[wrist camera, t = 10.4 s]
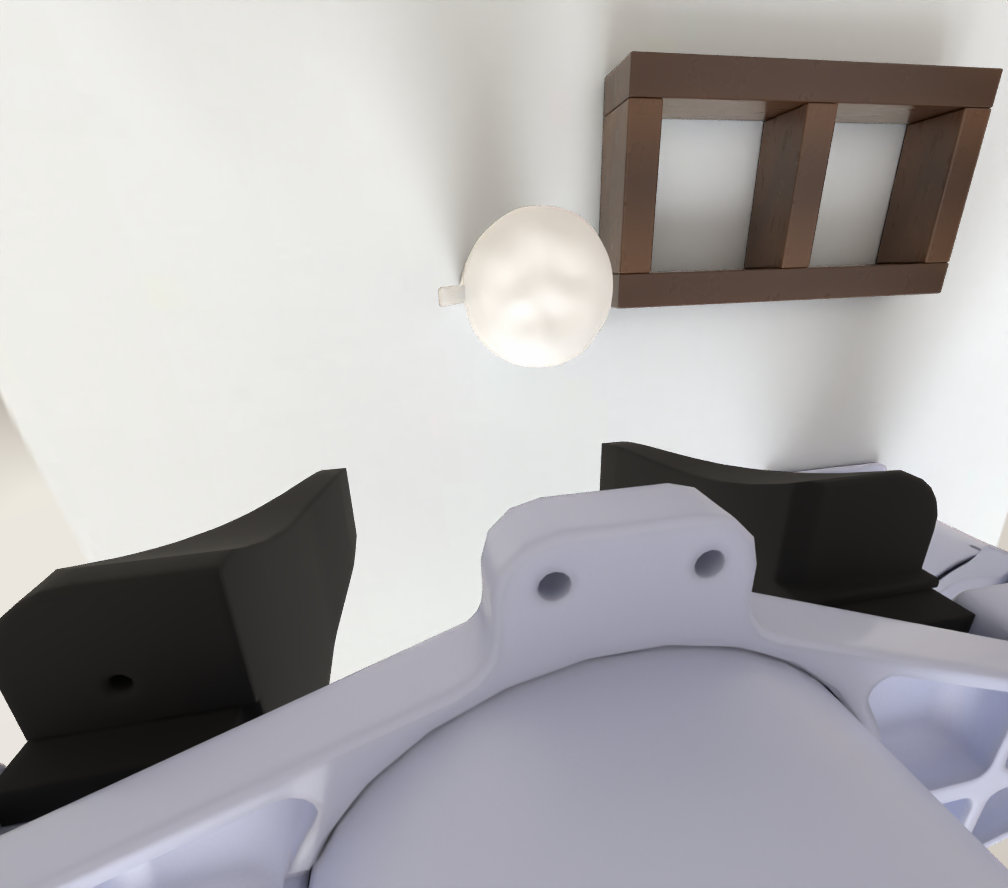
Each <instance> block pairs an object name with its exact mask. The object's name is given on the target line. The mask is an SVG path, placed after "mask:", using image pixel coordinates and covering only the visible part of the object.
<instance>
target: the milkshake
mask: <svg viewBox="0 0 1008 888" xmlns="http://www.w3.org/2000/svg"><path fill="white" fill-rule="evenodd" d="M438 292H439V305H440V307H444V306H449V305H454V304H458V303H463V302H464V304H465V309H466V313H467V316H468V319H469V322H470V324H471V326H472V328H473V330H474V332H475V334H476V335H477V337H478V338H479V339H480V341H481V342H482V343H483V344H484V345H485V346H486V347H487V348H488V349H489V350H490V351H492V352H493V353H494V354H495V355H497V356H498V357H500V358H502V359H503V360H505V361H507V362H510V363H512V364H515V365H519V366H524V367H551V366H556V365H559V364H563V363H565V362H568V361H570V360H572V359H574V358H575V357H577V356H579V355H580V354H581V353H582V352H584V351H585V350H586V349H587V347H588V346H589V345H590V344H591V342H592V341H593V340H594V338H595V337H596V335H597V334H598V332H599V331H600V329H601V328H602V326H603V325H604V323H605V321H606V319H607V317H608V315H609V312H610V308H611V302H612V293H613V275H612V268H611V263H610V260H609V256H608V254H607V251H606V249H605V247H604V245H603V243H602V241H601V240H600V238H599V236H598V234H597V233H596V231H595V230H594V229H593V228H592V226H591V225H590V224H589V223H588V222H587V221H586V220H584V219H583V218H582V217H580V216H579V215H577V214H575V213H574V212H571V211H569V210H566V209H563V208H559V207H553V206H526V207H521V208H518V209H515V210H513V211H511V212H509V213H507V214H506V215H504V216H503V217H501V218H500V219H498V220H497V221H496V222H495V223H493V224H492V225H491V226H490V227H489V228H488V229H487V230H486V231H485V232H484V233H483V234H482V235H481V236H480V238H479V239H478V240H477V242H476V243H475V245H474V247H473V249H472V251H471V253H470V255H469V258H468V259H467V260H466V262H465V265H464V269H463V273H462V277H461V281H460V284H459V285H457V286H448V287H440V288H439V290H438Z"/></svg>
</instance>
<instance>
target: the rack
mask: <svg viewBox="0 0 1008 888" xmlns="http://www.w3.org/2000/svg"><path fill="white" fill-rule="evenodd" d="M1002 71H1003V69H1000V68H978V67H957V66H936V65H914V64H893V63H872V62H850V61H829V60H808V59H786V58H765V57H744V56H722V55H701V54H680V53H658V52H637V51H632V52H631V53H630V54H629V55H628V56H627V57H626V58H625V59H624V60H623V61H622V62H621V63H620V64H619V65H618V66H617V67H616V68H615V69H614V70H613V71H612V72H611V73H610V74H609V75H608V76H607V77H606V78H605V93H604V117H605V118H604V123H603V150H602V177H601V204H600V231H599V238H600V240H601V241H602V243H603V245H604V247H605V249H606V251H607V254H608V256H609V260H610V263H611V268H612V275H613V293H612V302H611V307H614V308H640V307H661V306H682V305H704V304H725V303H746V302H767V301H788V300H809V299H831V298H852V297H873V296H894V295H915V294H937V293H940V292H941V289H942V286H943V282H944V279H945V275H946V271H947V268H948V263H946V262H949V260H950V257H951V253H952V249H953V246H954V242H955V239H956V235H957V231H958V228H959V224H960V221H961V217H962V213H963V210H964V206H965V203H966V199H967V195H968V192H969V188H970V185H971V181H972V177H973V174H974V170H975V167H976V163H977V159H978V156H979V152H980V149H981V145H982V141H983V138H984V134H985V131H986V127H987V123H988V120H989V116H990V113H991V109H990V108H991V107H992V106H993V103H994V100H995V96H996V92H997V89H998V85H999V82H1000V78H1001V74H1002ZM662 119H703V120H747V121H765V122H764V128H763V135H762V142H761V149H760V157H759V164H758V171H757V178H756V186H755V193H754V200H753V207H752V215H751V222H750V229H749V236H748V244H747V251H746V258H745V265H744V268H745V269H722V270H693V271H663V272H650V271H651V259H652V246H653V232H654V218H655V205H656V191H657V178H658V164H659V150H660V137H661V123H662ZM835 122H836V123H881V124H909V125H908V126H907V130H906V134H905V139H904V143H903V147H902V152H901V156H900V160H899V165H898V169H897V174H896V178H895V182H894V187H893V191H892V196H891V200H890V204H889V209H888V213H887V217H886V222H885V226H884V231H883V235H882V239H881V244H880V248H879V253H878V257H877V261H876V263H877V264H868V265H839V266H809V262H810V257H811V251H812V246H813V240H814V235H815V229H816V224H817V218H818V213H819V208H820V202H821V197H822V191H823V186H824V180H825V175H826V169H827V164H828V158H829V153H830V147H831V142H832V136H833V131H834V125H835ZM808 266H809V267H808Z"/></svg>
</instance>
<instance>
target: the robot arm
mask: <svg viewBox="0 0 1008 888" xmlns="http://www.w3.org/2000/svg"><path fill="white" fill-rule="evenodd" d="M356 537H357V534H356V528H355V522H354V515H353V509H352V503H351V497H350V490H349V484H348V478H347V471H346V468H341V469H331V470H322V471H319V472H317V473H315V474H313V475H311V476H310V477H308V478H307V479H305V480H303V481H302V482H300V483H299V484H297V485H296V486H294V487H293V488H291V489H289V490H288V491H286V492H285V493H283V494H282V495H280V496H278V497H277V498H275V499H273V500H271V501H270V502H268V503H266V504H264V505H263V506H261V507H259V508H258V509H256V510H254V511H252V512H250V513H248V514H246V515H244V516H242V517H240V518H238V519H236V520H233V521H231V522H229V523H227V524H225V525H222V526H220V527H217V528H215V529H212V530H209V531H207V532H204V533H201V534H198V535H195V536H193V537H190V538H187V539H184V540H182V541H178V542H175V543H172V544H169V545H165V546H162V547H158V548H155V549H151V550H147V551H143V552H139V553H135V554H131V555H127V556H123V557H119V558H114V559H108V560H103V561H98V562H93V563H88V564H83V565H78V566H73V567H67V568H61V569H57V570H55V571H54V572H53V573H52V574H50V576H48V577H47V578H46V579H45V580H44V581H43V582H41V583H40V584H39V585H38V586H37V587H35V588H34V589H33V590H32V591H31V592H30V593H28V594H27V595H26V596H25V597H24V598H22V599H21V600H20V601H19V602H18V603H16V604H15V605H14V606H13V607H12V608H11V609H10V610H9V611H8V612H7V613H5V614H4V615H3V616H2V617H1V618H0V691H1V692H2V694H3V696H4V698H5V700H6V702H7V704H8V706H9V708H10V709H11V711H12V713H13V715H14V717H15V719H16V721H17V723H18V725H19V726H20V728H21V730H22V732H23V734H24V736H25V738H26V740H27V741H28V742H27V743H26V744H25V745H24V747H23V748H22V749H21V750H20V751H19V753H18V754H17V755H16V756H15V758H14V759H13V760H12V761H11V762H10V764H9V765H8V766H7V767H6V766H5V765H4V764H2V763H0V888H1008V869H1007V868H1006V867H1005V866H1004V865H1003V864H1002V863H1001V862H1000V861H999V860H998V859H997V858H996V857H995V856H994V855H993V854H992V853H991V852H990V851H989V850H988V849H987V848H988V847H990V846H992V845H994V844H996V843H998V842H1000V841H1002V840H1004V839H1006V838H1008V552H1007V551H1005V550H1002V549H1000V548H997V547H995V546H992V545H989V544H987V543H985V542H983V541H981V540H979V539H976V538H974V537H972V536H970V535H968V534H966V533H964V532H962V531H959V530H957V529H955V528H953V527H951V526H949V525H947V524H945V523H942V522H940V521H938V520H937V502H936V498H935V495H934V493H933V491H932V489H931V487H930V486H929V485H928V484H927V483H926V482H925V481H924V480H923V479H921V478H918V477H916V476H913V475H911V474H909V473H906V472H904V471H902V470H892V471H886V466H885V465H883V464H881V463H868V464H860V465H851V466H842V467H833V468H825V469H816V470H807V471H798V472H781V471H768V470H758V469H749V468H743V467H736V466H730V465H724V464H718V463H713V462H709V461H704V460H700V459H695V458H691V457H687V456H683V455H679V454H676V453H672V452H668V451H665V450H661V449H657V448H653V447H650V446H646V445H642V444H637V443H632V442H612V443H602V453H601V475H600V491H594V492H585V493H576V494H567V495H558V496H550V497H541V498H538V499H535V500H532V501H529V502H527V503H524V504H521V505H518V506H515V507H513V508H510V509H509V510H508V511H507V512H506V513H505V514H504V515H503V516H502V517H501V518H500V519H499V520H498V521H497V522H496V523H495V524H494V526H493V527H492V528H491V529H490V530H489V531H488V533H487V537H486V541H485V545H484V549H483V553H482V557H481V570H482V598H481V603H480V606H479V608H478V610H477V612H476V613H475V614H474V615H473V616H472V617H471V618H470V619H469V620H468V621H467V622H464V623H462V624H460V625H458V626H456V627H453V628H451V629H449V630H447V631H445V632H443V633H440V634H438V635H436V636H434V637H432V638H429V639H427V640H425V641H423V642H421V643H419V644H416V645H414V646H412V647H410V648H408V649H405V650H403V651H401V652H399V653H397V654H395V655H392V656H390V657H388V658H386V659H384V660H382V661H379V662H377V663H375V664H373V665H371V666H368V667H366V668H364V669H362V670H360V671H358V672H355V673H353V674H351V675H349V676H347V677H344V678H342V679H340V680H338V681H336V682H334V683H331V684H329V681H330V674H331V666H332V658H333V651H334V644H335V639H336V634H337V630H338V626H339V622H340V618H341V614H342V610H343V606H344V602H345V599H346V595H347V591H348V587H349V583H350V579H351V575H352V571H353V566H354V559H355V549H356Z"/></svg>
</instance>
